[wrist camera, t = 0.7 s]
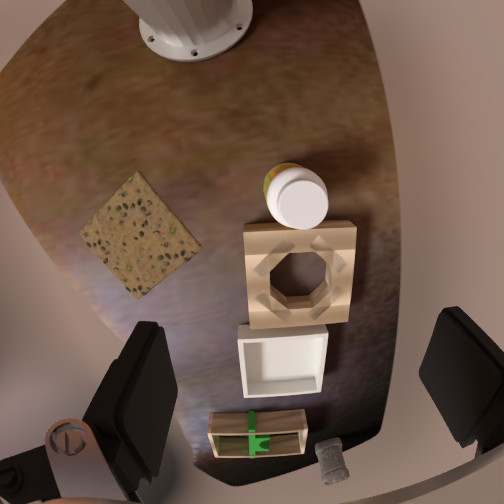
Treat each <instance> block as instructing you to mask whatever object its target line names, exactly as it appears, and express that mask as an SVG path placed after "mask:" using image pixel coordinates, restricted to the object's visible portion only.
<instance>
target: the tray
mask: <svg viewBox="0 0 504 504" xmlns="http://www.w3.org/2000/svg"><path fill="white" fill-rule="evenodd" d="M327 341H328V331H327V328H326V325H325V324H319V325H308V326H296V327H282V328H266V329H250V325H238V348H239V357H240V366H241V375H242V384H243V393H244V398H252V397H271V396H285V395H297V394H307V393H316V392H321V386H322V380H323V373H324V365H325V358H326V350H327Z"/></svg>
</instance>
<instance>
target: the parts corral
mask: <svg viewBox="0 0 504 504" xmlns="http://www.w3.org/2000/svg"><path fill="white" fill-rule="evenodd" d="M292 432H298V434H294V435H282V436H270V440H269V451H255V455H250V454H249V437H240V438H220V437H219V435H264V434H280V433H292ZM307 432H308V427H307V421H306V415H305V410H304V409H299V410H288V411H275V412H256V413H255V432H252V433H249V429H248V413H210V415H209V423H208V432H207V434H208V437H209V440H210V443H211V446H212V449H213V452H214V455H215V457H221V458H245V457H271V456H285V455H295V454H304V450H305V444H306V438H307Z"/></svg>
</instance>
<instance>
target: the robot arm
mask: <svg viewBox="0 0 504 504" xmlns="http://www.w3.org/2000/svg"><path fill="white" fill-rule="evenodd" d="M123 1H124V2H125V3H126V4H127V5H128V6H129V7H130V8H131V9H132V10H133V11H134V12H135V13H136V14H137V15H138V16H139V17H140V20H139V27H140V33H141V36H142V39H143V40H144V42H145V43H146V45H147V46H148V47H149V48H150V49H151V50H153V51H154V52H155V53H157V54H158V55H160V56H162V57H164V58H166V59H170V60H174V61H180V62H194V61H201V60H205V59H209V58H212V57H215V56H217V55H220V54H222V53H223V52H225V51H227V50H229V49H230V48H231V47H233V46H234V45H235V44H236V43H238V42H239V41H240V39H241V38H242V37H243V36H244V35H245V33H246V32H247V30H248V28H249V26H250V23H251V20H252V14H253V6H252V0H123ZM238 28H241V29H242V30H237V29H238ZM152 40H154V41H153V42H152ZM195 53H198V55H197V56H194V54H195ZM419 377H420V379H421V381H422V383H423V384H424V386H425V388H426V389H427V391H428V393H429V394H430V396H431V397H432V399H433V401H434V403H435V405H436V406H437V408H438V410H439V412H440V413H441V415H442V417H443V419H444V421H445V422H446V424H447V426H448V428H449V430H450V432H451V433H452V435H453V437H454V439H455V440H456V441H457V442H459V444H460V445H461V447H462V448H464V447H466V446H468V445H471V444H473V443H474V441H475V440H476V439H477V441H478V444H477V449H476V454H475V459H473V460H471V461H469V462H467V463H465V464H463V465H461V466H459V467H456V468H454V469H452V470H450V471H447V472H445V473H443V474H440V475H438V476H435V477H433V478H430V479H427V480H425V481H422V482H419V483H416V484H414V485H411V486H408V487H405V488H401V489H398V490H395V491H392V492H388V493H385V494H381V495H377V496H373V497H369V498H365V499H361V500H357V501H352V502H347V503H341V504H504V352H503V351H502V350H501V349H500V348H499V347H498V346H497V344H496V343H495V342H493V340H492V339H491V338H490V337H489V336H488V335H487V334H486V333H485V332H484V331H483V330H482V329H481V328H480V327H479V326H478V325H477V324H476V323H475V322H474V321H473V320H472V319H471V318H470V317H469V316H468V315H467V314H466V313H465V312H464V311H463V310H462V309H461V308H459V307H458V306H456V307H455V306H454V307H448V308H444V309H443V310H442V312H441V313H440V314H439V316H438V318H437V322H436V324H435V328H434V331H433V334H432V337H431V340H430V343H429V345H428V348H427V351H426V353H425V356H424V359H423V361H422V364H421V366H420V369H419ZM177 393H178V388H177V383H176V379H175V375H174V371H173V367H172V363H171V359H170V354H169V350H168V345H167V341H166V336H165V331H164V328H163V327H160V326H158V323H157V322H150V321H139V322H138V323H137V325H136V326H135V328H134V330H133V332H132V334H131V335H130V337H129V339H128V341H127V342H126V344H125V346H124V348H123V350H122V351H121V353H120V355H119V357H118V359H115V360H114V361H113V362H112V363H111V365H110V367H109V369H108V371H107V373H106V374H105V376H104V378H103V380H102V382H101V384H100V386H99V388H98V389H97V391H96V393H95V396H94V397H93V399H92V401H91V403H90V405H89V407H88V409H87V411H86V413H85V415H84V417H83V419H82V420H79V419H73V418H67V419H62V420H60V421H58V422H56V423H54V424H53V425H52V426H51V427H50V428H49V429H48V431H47V433H46V436H45V445H43V446H40V447H37V448H34V449H32V450H29V451H26V452H23V453H20V454H17V455H15V456H11V457H9V458H5V459H3V460H1V461H0V504H144V503H143V502H142V500H141V499H140V497H139V496H138V494H137V493H136V490H138V487H139V483H144V484H149V485H150V484H151V480H152V477H157V476H158V473H159V469H160V465H161V461H162V456H163V451H164V448H165V443H166V439H167V435H168V431H169V427H170V423H171V418H172V415H173V411H174V407H175V403H176V399H177Z"/></svg>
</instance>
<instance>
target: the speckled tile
mask: <svg viewBox="0 0 504 504" xmlns="http://www.w3.org/2000/svg"><path fill="white" fill-rule="evenodd" d="M80 235H81V236H82V238H83V239H84V240H85V241H86V243H87V245H88V246H89V247H90V248H92V250H93V251H94V253H96V254H97V255H98V256H99V258H100V259H101V260H102V262H103V263H104V264H105V265H106V266H107V267H108V268H109V269H110V271H111V272H112V273H113V274H114V275H115V276H116V277H117V278H118V279H119V280H120V282H121V283H122V284H123V285H124V286H125V287H126V289H127V290H128V291H129V292H131V294H132V295H133V296H134V297H135V298H137V299H139V298H141V297H142V296H144V295H146V293H147V292H148V291H149V290H151V289H152V288H153V287H154V286H156V285H157V284H159V283H160V282H161V281H162V280H163V279H164V278H165V277H167V276H168V275H169V274H170V273H171V272H173V271H174V270H176V269H177V268H178V267H179V266H181V265H182V264H184V263H185V262H187V261H189V259H190V258H191V257H192V256H194V255H195V254H196V253H197V252H198V251H200V250H201V249H202V246H201V245H200V244H199V243H198V242H197V240H196V239H195V238H194V237H193V236H192V234H191V233H190V232H189V231H188V230H187V229H186V228H185V226H184V225H183V223H182V222H181V221H180V220H179V219H178V218H177V217H176V216H175V215H174V213H173V212H172V211H171V210H170V209H169V207H168V206H167V205H166V204H165V202H164V201H163V200H162V199H161V197H160V196H159V195H158V194H157V193H156V192H155V191H154V189H153V188H152V187H151V185H150V184H149V183H148V182H147V180H146V179H145V178H144V177H143V176H142V174H141V173H140V172H139V171H137V172H136V173H135V174H134V175H133V176H131V177H130V178H128V180H127V182H126V183H125V184H123V186H122V187H120V188H119V189H118V190H117V192H116V193H115V194H114V195H113V196H112V197H111V198H110V199H109V200H108V201H107V202H106V204H105V205H104V206H102V207H101V208H100V210H98V212H97V213H96V214H95V215H94V217H93V218H91V219H90V220H89V221H88V223H87V224H86V225H85V227H84V228H82V230H81V232H80Z"/></svg>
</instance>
